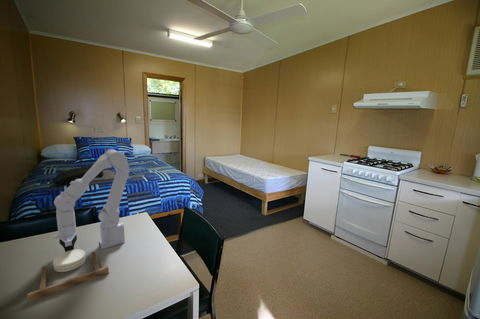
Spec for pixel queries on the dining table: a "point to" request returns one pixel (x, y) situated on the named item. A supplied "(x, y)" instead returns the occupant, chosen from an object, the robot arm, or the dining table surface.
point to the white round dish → (69, 260)
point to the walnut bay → (66, 281)
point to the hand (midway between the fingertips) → (69, 253)
